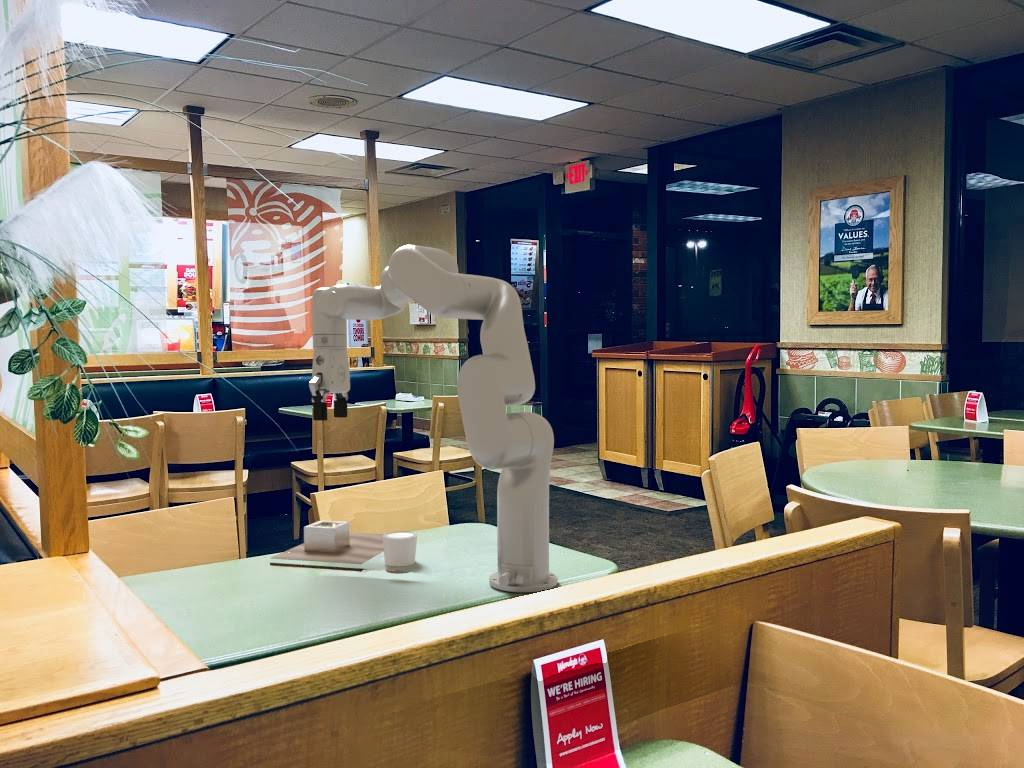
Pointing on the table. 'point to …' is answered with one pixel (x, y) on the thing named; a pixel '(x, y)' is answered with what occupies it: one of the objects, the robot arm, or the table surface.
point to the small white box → (326, 536)
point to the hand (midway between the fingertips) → (330, 418)
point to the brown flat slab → (337, 553)
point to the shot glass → (399, 549)
